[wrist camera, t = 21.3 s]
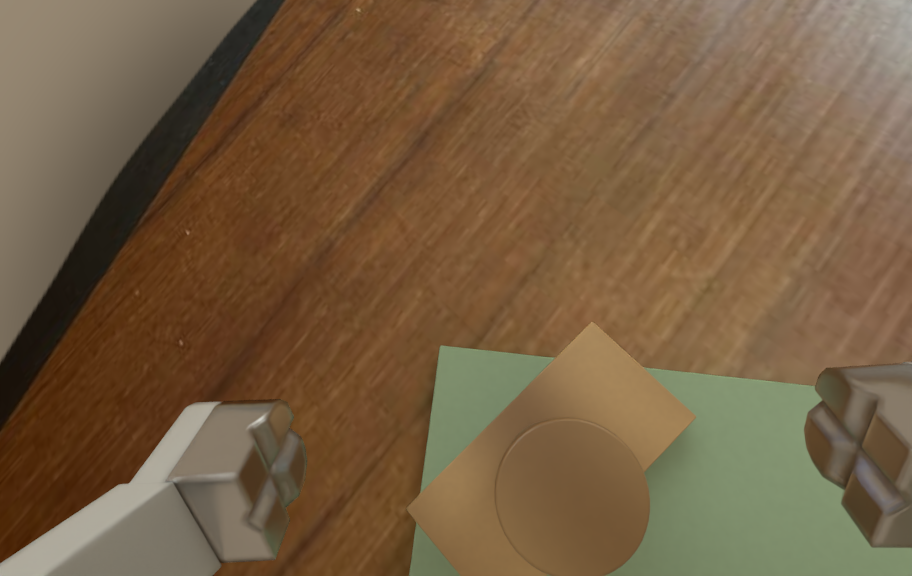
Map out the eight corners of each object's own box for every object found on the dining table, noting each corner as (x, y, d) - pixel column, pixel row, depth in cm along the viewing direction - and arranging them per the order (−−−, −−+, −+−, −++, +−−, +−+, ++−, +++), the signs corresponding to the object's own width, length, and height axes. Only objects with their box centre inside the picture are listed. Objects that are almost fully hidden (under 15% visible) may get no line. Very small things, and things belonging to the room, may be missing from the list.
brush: (503, 596, 20) (476, 820, 9) (420, 497, 22) (302, 579, 10) (673, 417, 21) (852, 408, 10) (583, 333, 23) (645, 238, 11)
